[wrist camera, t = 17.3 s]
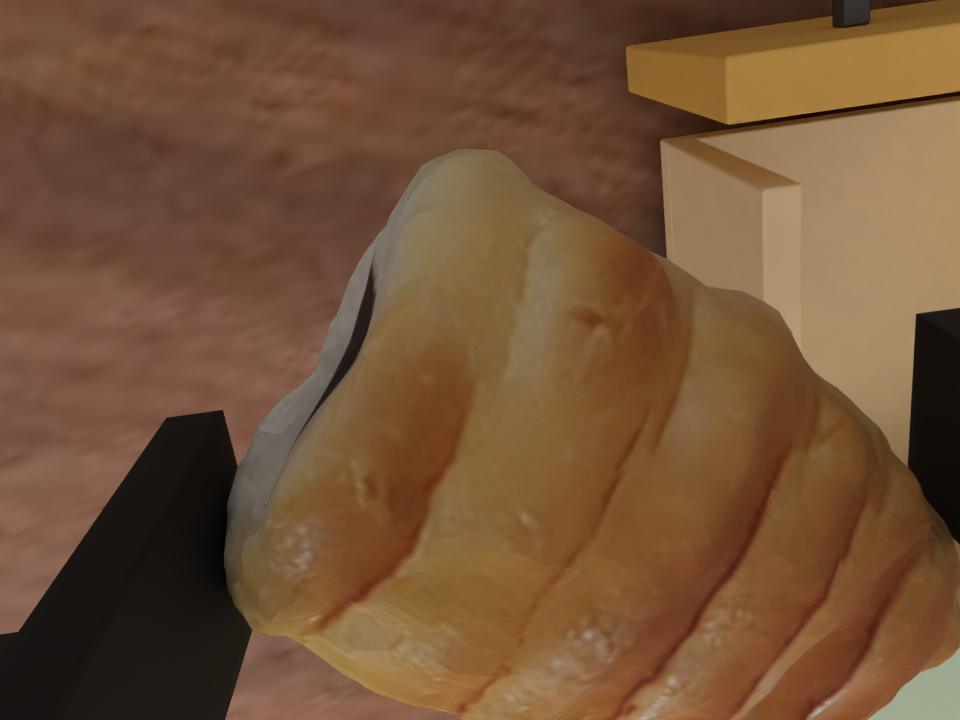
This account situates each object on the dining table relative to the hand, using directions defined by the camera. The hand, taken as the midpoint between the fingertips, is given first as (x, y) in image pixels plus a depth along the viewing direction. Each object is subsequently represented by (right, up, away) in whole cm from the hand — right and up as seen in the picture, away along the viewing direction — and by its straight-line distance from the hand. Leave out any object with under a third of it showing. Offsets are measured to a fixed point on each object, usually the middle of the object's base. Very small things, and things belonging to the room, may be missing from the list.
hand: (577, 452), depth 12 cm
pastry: (0, 0, 0) cm, 0 cm away
